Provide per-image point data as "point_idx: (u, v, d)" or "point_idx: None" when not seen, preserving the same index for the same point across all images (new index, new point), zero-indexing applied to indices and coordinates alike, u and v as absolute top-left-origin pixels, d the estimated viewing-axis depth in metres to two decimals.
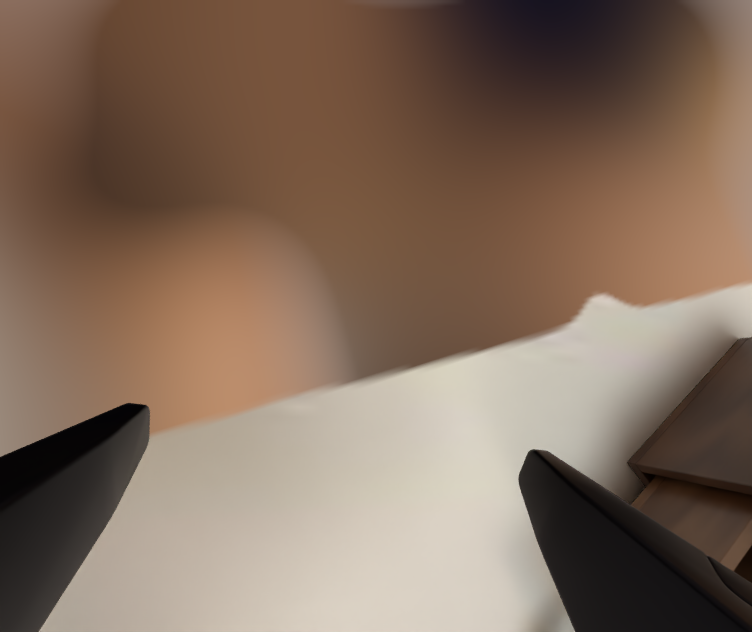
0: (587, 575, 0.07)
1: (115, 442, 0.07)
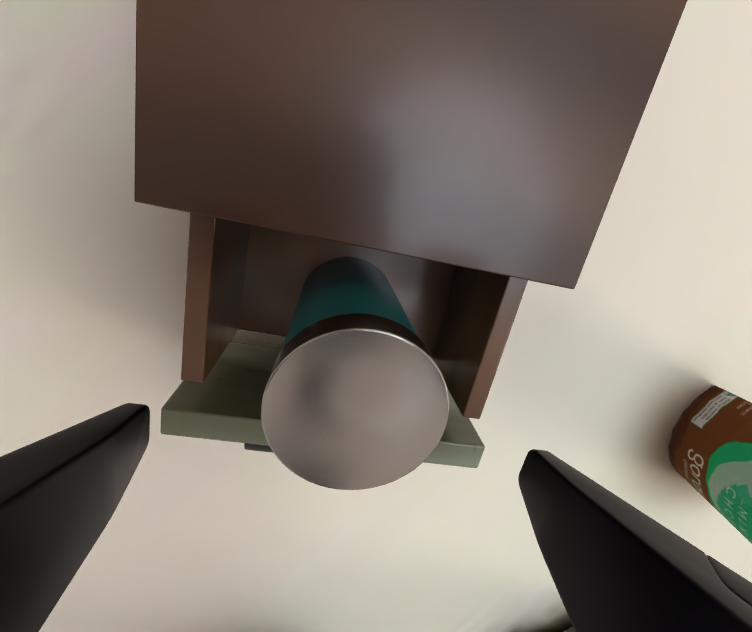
0: (587, 575, 0.07)
1: (115, 442, 0.07)
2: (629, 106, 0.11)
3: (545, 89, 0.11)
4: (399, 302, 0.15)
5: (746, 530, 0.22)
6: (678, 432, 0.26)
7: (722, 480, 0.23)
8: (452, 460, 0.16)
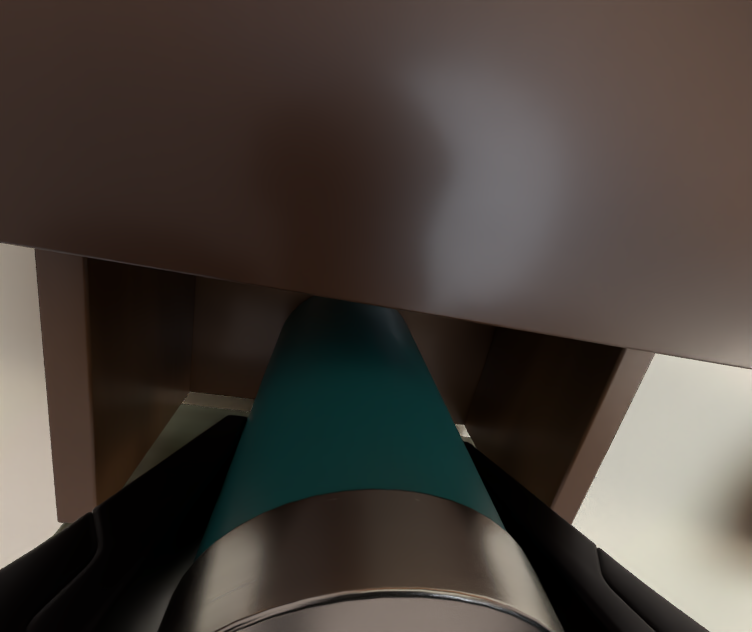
0: None
1: (232, 454, 0.07)
2: None
3: None
4: (430, 377, 0.09)
5: None
6: None
7: None
8: None
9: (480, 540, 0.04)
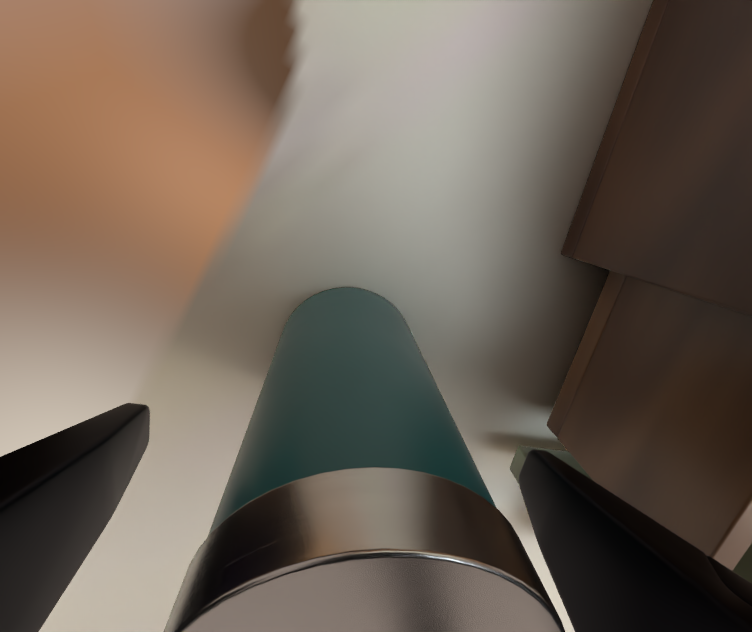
0: (587, 575, 0.07)
1: (115, 442, 0.07)
2: None
3: None
4: (428, 371, 0.09)
5: None
6: None
7: None
8: None
9: (472, 513, 0.04)
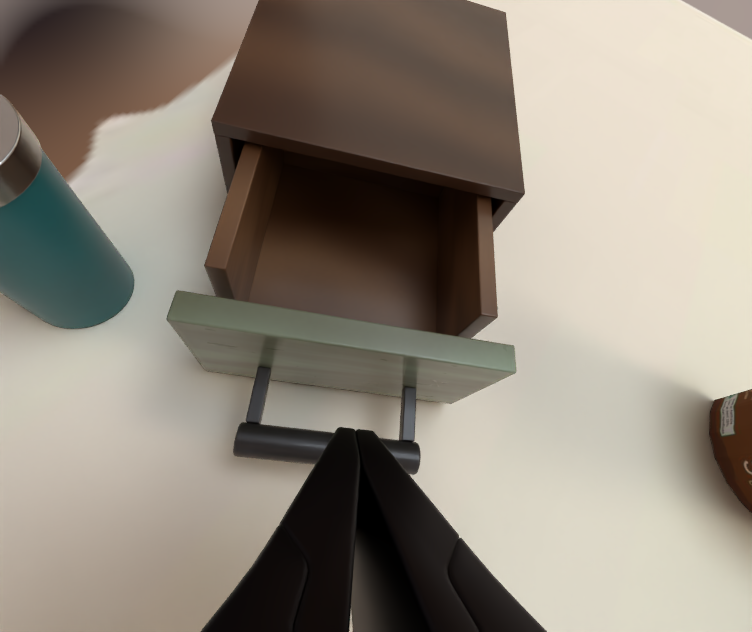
0: (361, 562, 0.06)
1: None
2: (507, 110, 0.20)
3: (459, 99, 0.20)
4: None
5: None
6: (721, 455, 0.24)
7: None
8: (486, 361, 0.15)
9: None
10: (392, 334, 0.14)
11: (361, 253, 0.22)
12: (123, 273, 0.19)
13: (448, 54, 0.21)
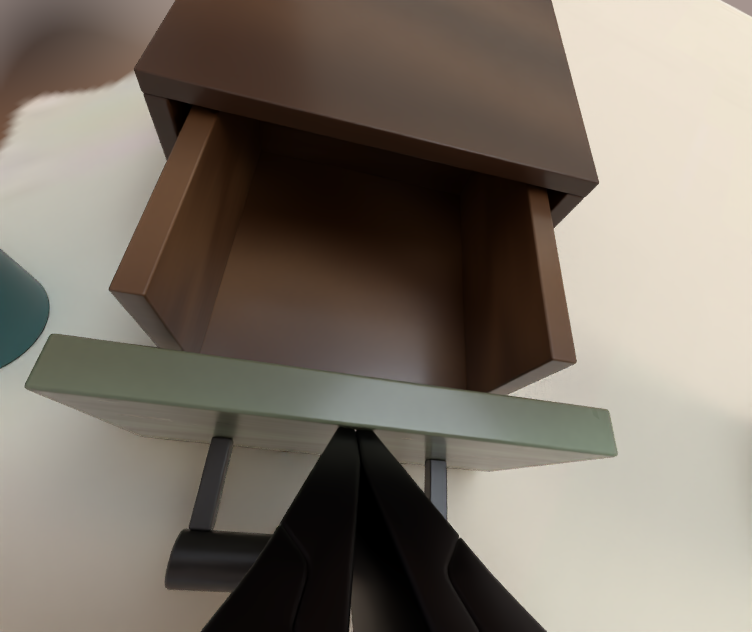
0: (361, 562, 0.06)
1: None
2: (560, 74, 0.15)
3: (496, 58, 0.14)
4: None
5: None
6: None
7: None
8: (571, 439, 0.09)
9: None
10: (420, 399, 0.09)
11: (363, 266, 0.17)
12: (25, 300, 0.14)
13: (477, 5, 0.16)
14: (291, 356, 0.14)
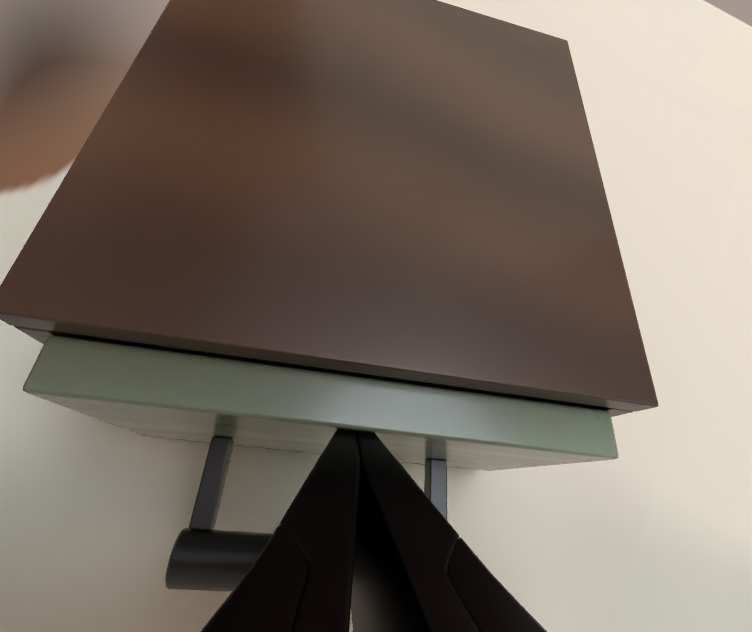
0: (361, 562, 0.06)
1: None
2: (597, 217, 0.11)
3: (516, 203, 0.11)
4: None
5: None
6: None
7: None
8: (572, 441, 0.09)
9: None
10: (421, 401, 0.09)
11: None
12: None
13: (489, 116, 0.12)
14: None
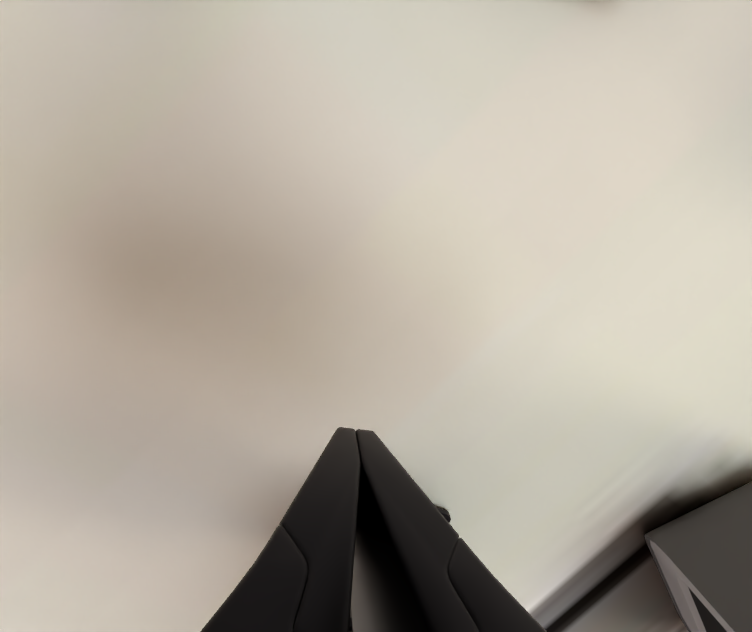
0: (361, 562, 0.06)
1: None
2: None
3: None
4: None
5: None
6: None
7: None
8: None
9: None
10: None
11: None
12: None
13: None
14: None
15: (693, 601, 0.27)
